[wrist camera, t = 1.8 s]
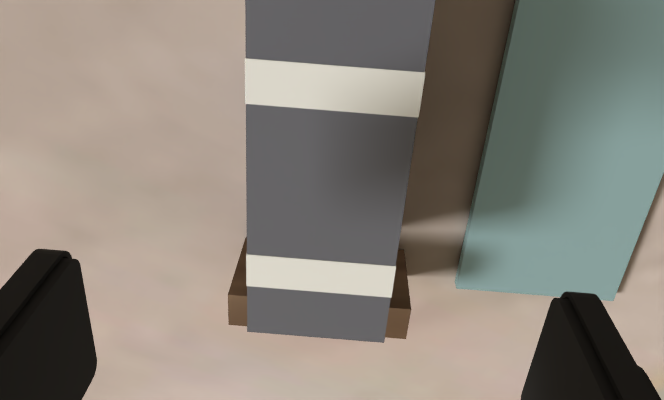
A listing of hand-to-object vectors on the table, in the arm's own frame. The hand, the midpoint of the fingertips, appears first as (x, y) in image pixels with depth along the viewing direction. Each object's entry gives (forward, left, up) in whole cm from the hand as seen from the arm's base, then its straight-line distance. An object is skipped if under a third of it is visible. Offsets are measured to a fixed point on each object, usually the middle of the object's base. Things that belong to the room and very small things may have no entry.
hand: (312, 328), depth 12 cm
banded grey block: (0, 0, -13) cm, 13 cm away
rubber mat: (0, +9, -13) cm, 16 cm away
